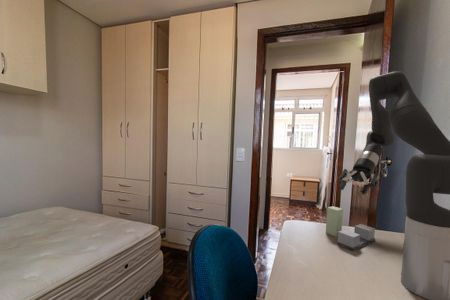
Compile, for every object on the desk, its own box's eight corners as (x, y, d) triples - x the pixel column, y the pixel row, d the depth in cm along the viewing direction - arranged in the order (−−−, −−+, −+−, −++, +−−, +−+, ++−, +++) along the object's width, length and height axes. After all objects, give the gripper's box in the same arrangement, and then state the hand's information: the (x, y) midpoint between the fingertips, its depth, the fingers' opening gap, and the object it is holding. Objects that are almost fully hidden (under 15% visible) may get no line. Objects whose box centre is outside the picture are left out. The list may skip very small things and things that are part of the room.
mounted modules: (374, 237, 81) (375, 228, 81) (352, 247, 72) (353, 237, 72) (359, 232, 85) (360, 223, 85) (337, 241, 76) (338, 231, 76)
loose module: (341, 234, 85) (343, 209, 85) (335, 236, 83) (337, 210, 82) (331, 230, 88) (333, 206, 88) (325, 232, 86) (327, 207, 86)
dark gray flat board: (374, 240, 81) (375, 238, 81) (353, 251, 72) (353, 248, 72) (358, 235, 85) (359, 232, 85) (336, 244, 76) (336, 241, 76)
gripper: (347, 155, 102) (331, 182, 96) (382, 158, 90) (367, 188, 84) (352, 167, 105) (337, 192, 99) (386, 171, 93) (372, 200, 87)
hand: (351, 191), depth 91 cm, fingers open, 8 cm apart
